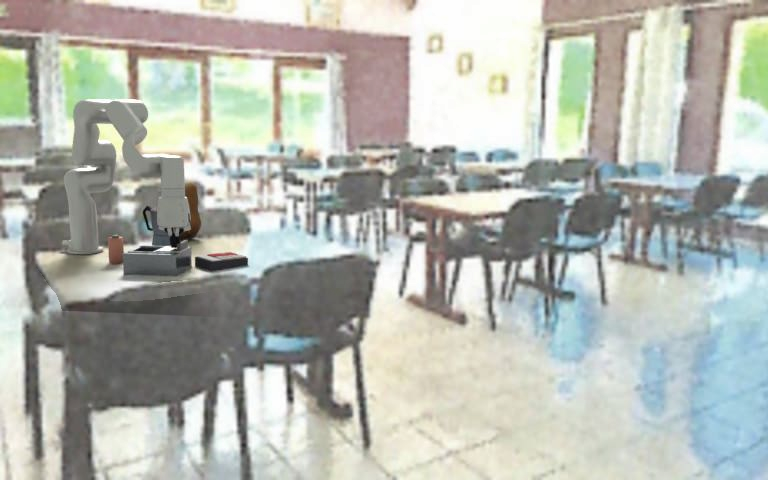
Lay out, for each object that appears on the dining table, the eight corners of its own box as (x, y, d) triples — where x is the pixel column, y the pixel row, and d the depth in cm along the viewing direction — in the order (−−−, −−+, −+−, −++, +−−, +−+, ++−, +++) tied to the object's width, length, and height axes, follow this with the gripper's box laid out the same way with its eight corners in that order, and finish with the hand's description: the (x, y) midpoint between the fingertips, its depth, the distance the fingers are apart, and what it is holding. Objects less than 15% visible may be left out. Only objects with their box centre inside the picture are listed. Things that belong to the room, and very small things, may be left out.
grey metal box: (123, 274, 222) (122, 252, 221) (141, 264, 236) (140, 244, 234) (176, 276, 221) (175, 254, 219) (191, 266, 234) (191, 246, 233)
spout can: (106, 263, 236) (105, 236, 234) (114, 260, 242) (112, 233, 240) (120, 264, 236) (118, 237, 234) (127, 260, 242) (126, 234, 240)
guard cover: (156, 252, 223) (155, 243, 222) (166, 247, 231) (165, 239, 230) (179, 253, 222) (179, 244, 222) (188, 248, 230) (188, 239, 230)
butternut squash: (163, 239, 283) (161, 180, 279) (192, 235, 292) (190, 178, 288) (178, 244, 273) (176, 182, 269) (208, 240, 282) (206, 181, 278)
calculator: (248, 255, 238) (212, 259, 227) (248, 267, 239) (211, 272, 228) (230, 251, 246) (194, 254, 235) (230, 262, 246) (194, 266, 235)
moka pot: (174, 258, 247) (172, 204, 244) (136, 255, 250) (133, 202, 247) (187, 253, 256) (185, 201, 253) (150, 250, 259) (147, 199, 256)
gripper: (146, 193, 220) (149, 248, 223) (191, 195, 219) (193, 250, 222) (156, 191, 227) (158, 244, 230) (199, 192, 226) (200, 245, 229)
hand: (175, 247), depth 226 cm, fingers closed
